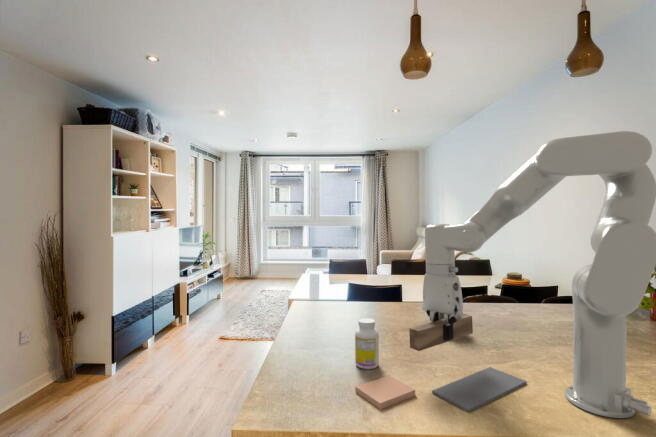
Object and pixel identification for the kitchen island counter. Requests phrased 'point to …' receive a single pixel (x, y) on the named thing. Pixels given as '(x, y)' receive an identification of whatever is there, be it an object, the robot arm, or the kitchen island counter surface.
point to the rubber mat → (479, 388)
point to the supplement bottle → (366, 344)
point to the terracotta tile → (385, 391)
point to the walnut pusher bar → (438, 332)
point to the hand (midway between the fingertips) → (442, 337)
